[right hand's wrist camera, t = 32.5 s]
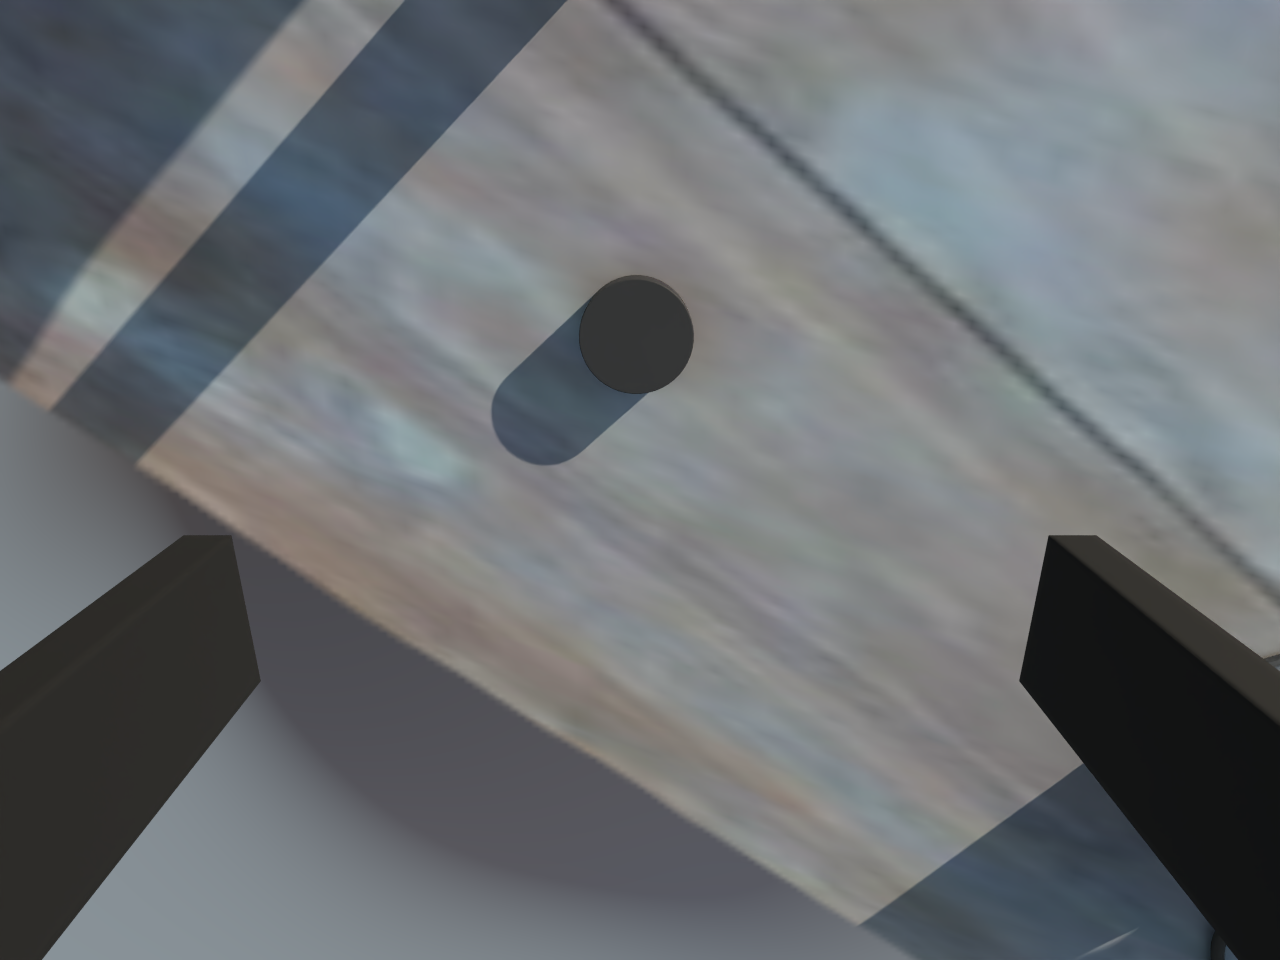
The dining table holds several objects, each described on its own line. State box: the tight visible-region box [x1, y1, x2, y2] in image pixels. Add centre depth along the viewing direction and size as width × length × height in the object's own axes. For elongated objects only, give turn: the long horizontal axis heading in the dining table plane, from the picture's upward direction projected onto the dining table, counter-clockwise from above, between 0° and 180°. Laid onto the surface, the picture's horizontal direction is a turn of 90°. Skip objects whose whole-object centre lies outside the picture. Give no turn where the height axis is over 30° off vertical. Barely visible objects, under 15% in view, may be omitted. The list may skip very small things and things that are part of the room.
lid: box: [579, 275, 694, 394], centre depth 37 cm, size 5×5×2 cm
